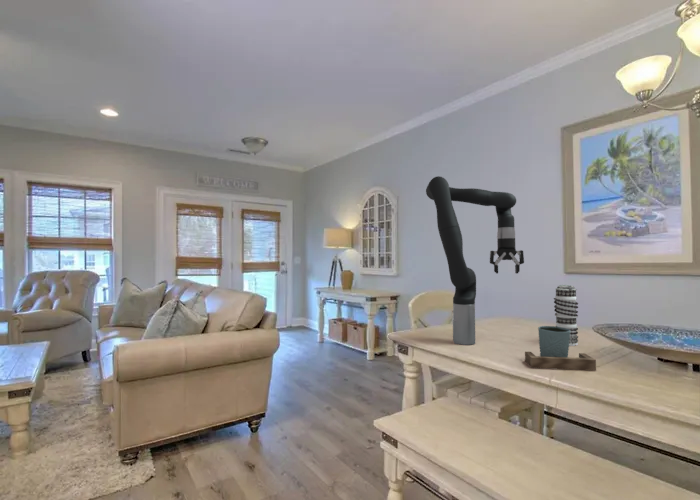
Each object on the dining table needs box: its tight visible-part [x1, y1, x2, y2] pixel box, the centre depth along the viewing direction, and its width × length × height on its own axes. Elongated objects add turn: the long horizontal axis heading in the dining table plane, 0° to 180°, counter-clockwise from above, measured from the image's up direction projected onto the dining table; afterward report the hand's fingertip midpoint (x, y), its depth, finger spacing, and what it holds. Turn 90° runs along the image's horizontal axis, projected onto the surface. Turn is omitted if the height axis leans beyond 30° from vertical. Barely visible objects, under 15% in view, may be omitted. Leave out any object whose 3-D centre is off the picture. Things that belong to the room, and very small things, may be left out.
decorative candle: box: [553, 284, 579, 347], centre depth 160 cm, size 9×9×25 cm
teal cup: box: [537, 325, 570, 357], centre depth 133 cm, size 10×10×12 cm
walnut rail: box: [524, 351, 597, 371], centre depth 129 cm, size 20×8×4 cm, turn 80°
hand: (506, 273), depth 168 cm, fingers open, 8 cm apart
